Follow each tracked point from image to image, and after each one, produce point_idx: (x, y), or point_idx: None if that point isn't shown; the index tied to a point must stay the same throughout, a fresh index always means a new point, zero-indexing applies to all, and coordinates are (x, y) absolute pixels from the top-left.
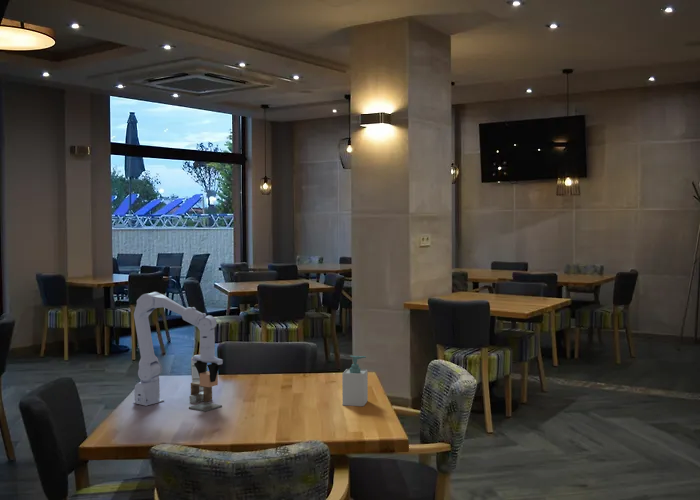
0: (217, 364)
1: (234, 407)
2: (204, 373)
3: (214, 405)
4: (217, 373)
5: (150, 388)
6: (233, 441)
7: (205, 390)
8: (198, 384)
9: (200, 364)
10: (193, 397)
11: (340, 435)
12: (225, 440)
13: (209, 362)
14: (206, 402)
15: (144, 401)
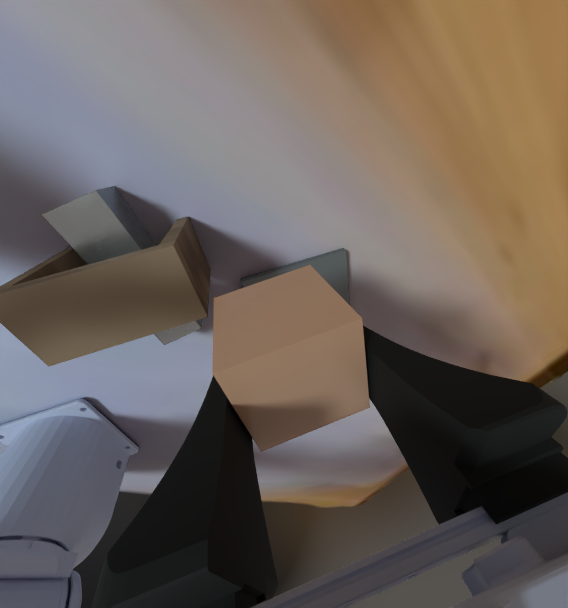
0: (545, 459)
1: (393, 208)
2: (301, 425)
3: (323, 277)
4: (357, 316)
5: (88, 510)
6: (546, 359)
7: (206, 292)
8: (141, 336)
9: (263, 562)
10: (188, 330)
11: None
12: (530, 367)
13: (422, 548)
14: (251, 282)
15: (125, 467)
